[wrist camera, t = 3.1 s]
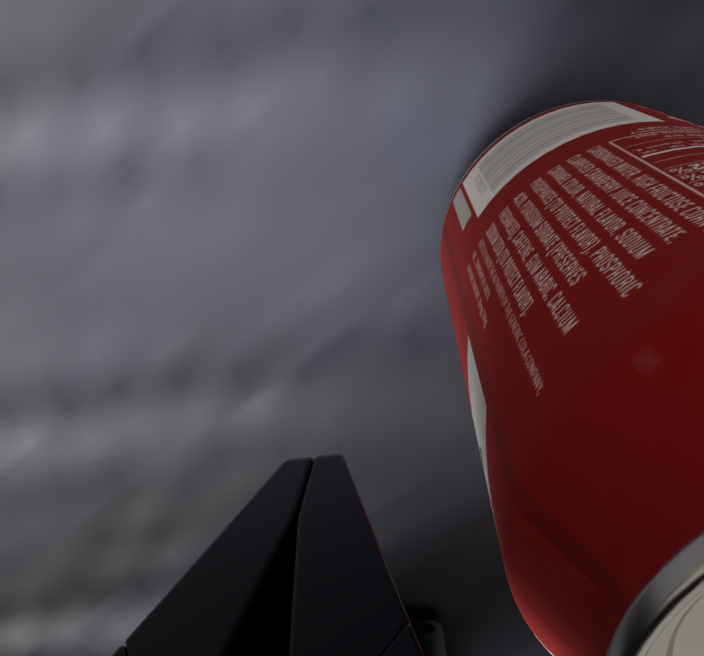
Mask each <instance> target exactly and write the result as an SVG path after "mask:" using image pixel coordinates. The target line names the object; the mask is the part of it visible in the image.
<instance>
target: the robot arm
mask: <svg viewBox="0 0 704 656" xmlns="http://www.w3.org/2000/svg"><path fill="white" fill-rule="evenodd" d="M125 646H126V647H125ZM125 646H120V647H119V648H118V649H117V650H116V652H115V653H114V654H113V655H112V656H447V651H446V644H445V638H444V631H443V625H442V618H441V616H440V614H438V613H437V612H435V611H432V610H420V611H406V610H405V608H404V605H403V603H402V600H401V598H400V595H399V593H398V590H397V588H396V585H395V583H394V580H393V578H392V576H391V573H390V571H389V568H388V566H387V563H386V561H385V558H384V556H383V553H382V551H381V548H380V546H379V543H378V541H377V538H376V536H375V533H374V531H373V528H372V526H371V524H370V521H369V519H368V516H367V514H366V511H365V509H364V506H363V504H362V501H361V499H360V496H359V494H358V491H357V489H356V486H355V484H354V481H353V479H352V476H351V474H350V472H349V469H348V467H347V464H346V462H345V459H344V457H343V456H342V455H341V454H334V455H325V456H318V457H316V458H315V459H313V458H311V457H306V458H297V459H289V460H286V461H285V462H284V463H282V465H281V466H280V467H279V468H278V469H277V470H276V471H275V473H274V474H273V475H272V476H271V477H270V478H269V479H268V480H267V482H266V483H265V484H264V485H263V486H262V487H261V488H260V489H259V491H258V492H257V493H256V494H255V495H254V496H253V497H252V498H251V500H250V501H249V502H248V503H247V504H246V505H245V506H244V507H243V509H242V510H241V511H240V512H239V513H238V514H237V515H236V516H235V518H234V519H233V520H232V521H231V522H230V523H229V524H228V526H227V527H226V528H225V529H224V530H223V531H222V532H221V533H220V535H219V536H218V537H217V538H216V539H215V540H214V541H213V542H212V544H211V545H210V546H209V547H208V548H207V549H206V550H205V551H204V553H203V554H202V555H201V556H200V557H199V558H198V559H197V560H196V562H195V563H194V564H193V565H192V566H191V567H190V568H189V569H188V571H187V572H186V573H185V574H184V575H183V576H182V577H181V579H180V580H179V581H178V582H177V583H176V584H175V585H174V586H173V588H172V589H171V590H170V591H169V592H168V593H167V594H166V595H165V597H164V598H163V599H162V600H161V601H160V602H159V603H158V604H157V606H156V607H155V608H154V609H153V610H152V611H151V612H150V613H149V615H148V616H147V617H146V618H145V619H144V620H143V621H142V623H141V624H140V625H139V626H138V627H137V628H136V629H135V630H134V632H133V633H132V634H131V635H130V636H129V637H128V638H127V639H126V641H125Z"/></svg>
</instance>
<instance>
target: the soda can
mask: <svg viewBox="0 0 704 656" xmlns="http://www.w3.org/2000/svg"><path fill="white" fill-rule="evenodd" d="M440 260H441V269H442V274H443V279H444V284H445V289H446V294H447V298H448V303H449V308H450V312H451V317H452V322H453V327H454V331H455V336H456V341H457V346H458V350H459V355H460V360H461V365H462V369H463V374H464V379H465V384H466V388H467V393H468V398H469V403H470V407H471V412H472V417H473V421H474V426H475V431H476V436H477V440H478V445H479V450H480V455H481V459H482V464H483V469H484V474H485V478H486V483H487V488H488V493H489V497H490V502H491V507H492V512H493V516H494V521H495V526H496V531H497V535H498V540H499V545H500V549H501V554H502V559H503V564H504V568H505V573H506V577H507V580H508V583H509V586H510V589H511V592H512V595H513V598H514V600H515V602H516V604H517V606H518V608H519V610H520V612H521V614H522V616H523V618H524V620H525V621H526V623H527V624H528V626H529V627H530V629H531V630H532V632H533V633H534V635H535V636H536V637H537V639H538V640H539V641H540V642H541V643H542V644H543V646H544V647H545V648H546V649H547V650H548V651H549V652H550V653H551V654H552V656H704V127H702V126H700V125H697V124H694V123H691V122H688V121H685V120H683V119H680V118H677V117H674V116H671V115H668V114H666V113H663V112H660V111H657V110H654V109H651V108H648V107H645V106H642V105H638V104H634V103H629V102H623V101H616V100H587V101H580V102H573V103H569V104H565V105H561V106H557V107H554V108H551V109H548V110H545V111H542V112H540V113H538V114H536V115H534V116H531V117H529V118H527V119H525V120H524V121H522V122H520V123H518V124H517V125H515V126H513V127H512V128H511V129H509V130H508V131H506V132H505V133H503V134H502V135H501V136H499V137H498V138H497V139H496V140H495V141H493V142H492V143H491V144H490V145H489V146H488V147H487V148H486V149H485V150H484V151H483V152H482V153H481V154H480V155H479V156H478V157H477V158H476V160H475V161H474V162H473V163H472V164H471V166H470V167H469V168H468V170H467V171H466V173H465V174H464V176H463V177H462V178H461V180H460V182H459V184H458V186H457V187H456V189H455V191H454V193H453V195H452V198H451V200H450V202H449V205H448V208H447V211H446V214H445V217H444V221H443V226H442V231H441V240H440Z"/></svg>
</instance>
